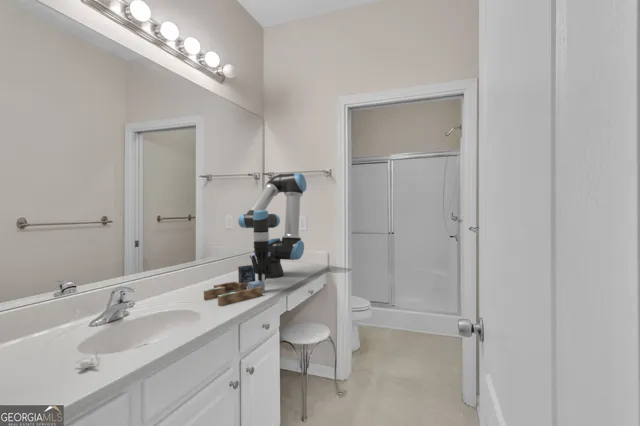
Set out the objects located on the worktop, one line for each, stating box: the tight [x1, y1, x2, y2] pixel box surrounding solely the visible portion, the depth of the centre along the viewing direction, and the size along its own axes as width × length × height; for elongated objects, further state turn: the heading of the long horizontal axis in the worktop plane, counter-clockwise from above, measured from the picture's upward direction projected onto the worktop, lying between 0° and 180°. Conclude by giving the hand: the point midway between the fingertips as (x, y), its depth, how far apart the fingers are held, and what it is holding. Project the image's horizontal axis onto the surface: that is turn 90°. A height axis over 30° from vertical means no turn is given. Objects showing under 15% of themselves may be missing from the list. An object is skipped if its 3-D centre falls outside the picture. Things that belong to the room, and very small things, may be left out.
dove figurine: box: [75, 349, 101, 370], centre depth 83 cm, size 8×5×5 cm, turn 78°
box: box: [237, 264, 256, 283], centre depth 173 cm, size 8×6×11 cm
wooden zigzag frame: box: [203, 281, 263, 307], centre depth 151 cm, size 22×22×4 cm
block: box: [247, 280, 266, 294], centre depth 157 cm, size 6×6×5 cm
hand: (262, 286), depth 160 cm, fingers closed
